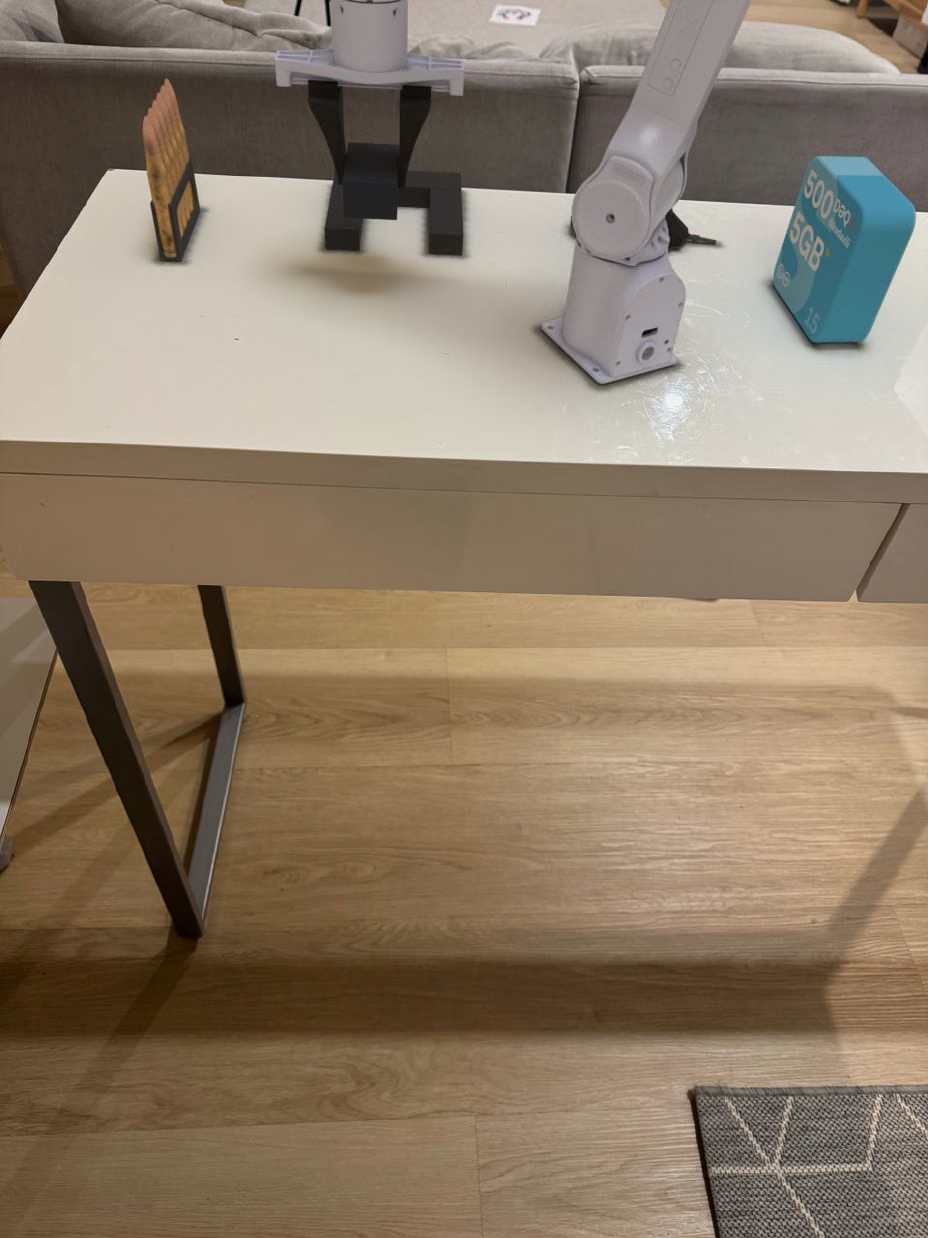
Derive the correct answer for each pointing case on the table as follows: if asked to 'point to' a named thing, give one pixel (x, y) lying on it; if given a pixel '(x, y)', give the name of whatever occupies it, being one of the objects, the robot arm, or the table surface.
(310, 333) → the table surface
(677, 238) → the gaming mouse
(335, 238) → the black flat u-shaped piece
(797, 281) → the data package
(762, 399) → the table surface
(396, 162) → the black rectangular block
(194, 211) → the ammunition clip
